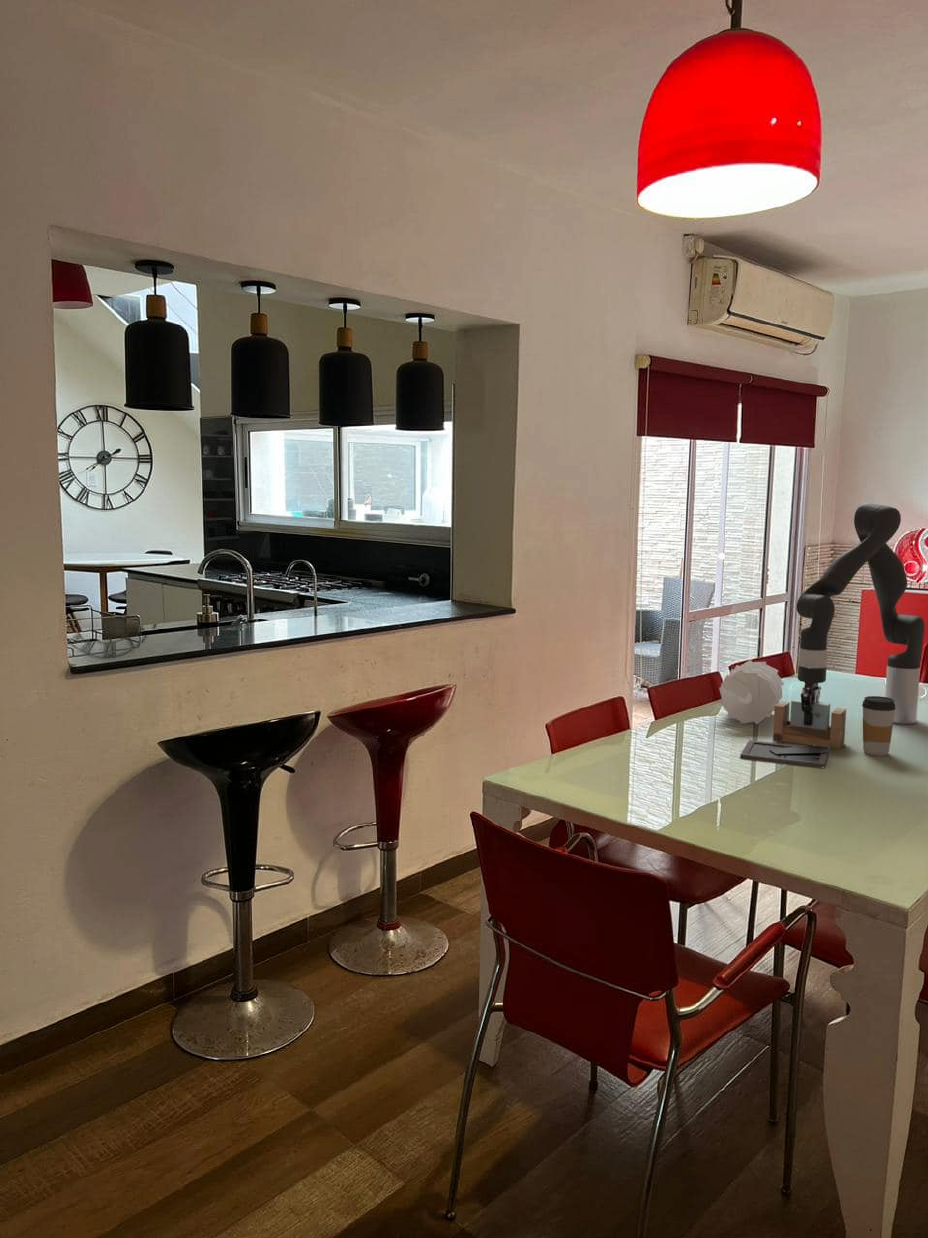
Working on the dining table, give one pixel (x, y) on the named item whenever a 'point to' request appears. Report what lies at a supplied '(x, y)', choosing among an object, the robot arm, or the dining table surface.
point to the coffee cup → (877, 724)
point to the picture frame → (786, 753)
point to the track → (809, 729)
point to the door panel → (819, 715)
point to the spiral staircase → (751, 691)
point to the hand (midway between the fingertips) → (809, 723)
